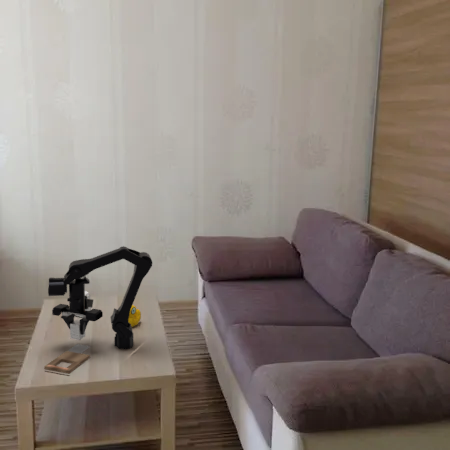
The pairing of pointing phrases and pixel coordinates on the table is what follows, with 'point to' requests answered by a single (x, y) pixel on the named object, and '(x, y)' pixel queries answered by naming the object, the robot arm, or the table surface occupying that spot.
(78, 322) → the block
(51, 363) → the board
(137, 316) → the duckling
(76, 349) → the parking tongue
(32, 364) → the table surface
